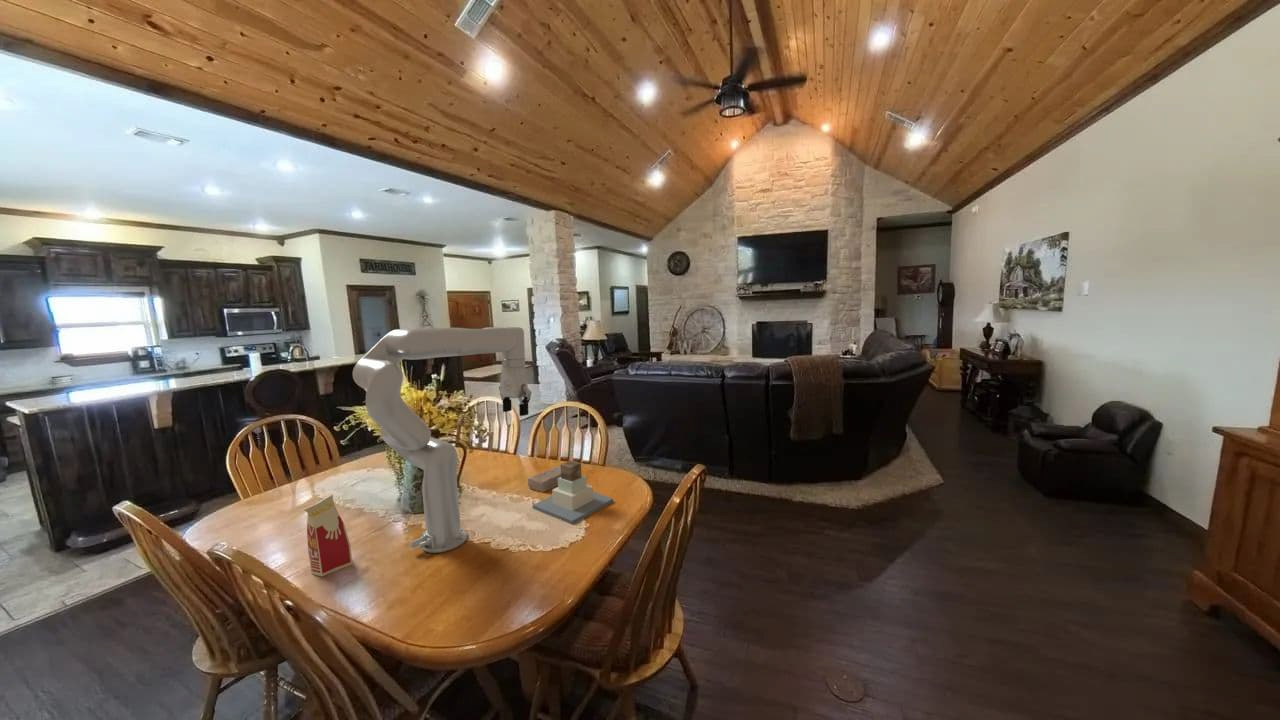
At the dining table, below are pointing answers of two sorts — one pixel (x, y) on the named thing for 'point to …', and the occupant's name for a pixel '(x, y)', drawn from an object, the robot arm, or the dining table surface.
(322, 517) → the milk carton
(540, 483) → the brick
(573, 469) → the walnut cube
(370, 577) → the dining table surface
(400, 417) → the robot arm
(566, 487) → the green block
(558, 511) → the foundation
